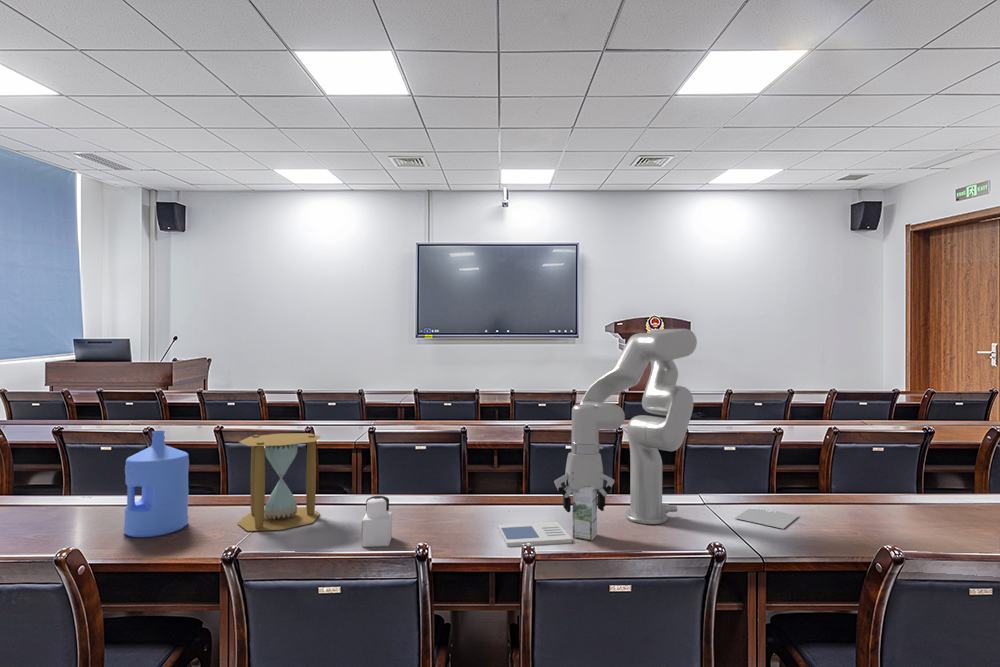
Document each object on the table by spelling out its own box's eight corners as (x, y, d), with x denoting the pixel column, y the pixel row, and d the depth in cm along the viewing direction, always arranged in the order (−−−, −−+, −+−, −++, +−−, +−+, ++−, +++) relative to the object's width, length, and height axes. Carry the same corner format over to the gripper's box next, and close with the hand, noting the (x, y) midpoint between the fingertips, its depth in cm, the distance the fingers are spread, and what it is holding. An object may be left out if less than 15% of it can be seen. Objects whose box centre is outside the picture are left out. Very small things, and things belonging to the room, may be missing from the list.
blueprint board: (557, 525, 160) (557, 521, 160) (572, 542, 146) (572, 538, 146) (497, 528, 157) (497, 525, 157) (506, 546, 143) (506, 542, 143)
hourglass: (235, 537, 149) (236, 446, 150) (238, 513, 170) (239, 434, 170) (324, 525, 159) (325, 440, 160) (317, 505, 179) (317, 429, 180)
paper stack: (833, 524, 163) (833, 522, 163) (812, 547, 145) (812, 544, 145) (752, 508, 179) (752, 506, 179) (724, 526, 161) (724, 524, 161)
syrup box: (597, 534, 153) (597, 483, 153) (592, 541, 147) (592, 488, 148) (578, 531, 155) (578, 480, 155) (571, 538, 150) (572, 485, 150)
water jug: (179, 516, 167) (181, 425, 167) (194, 529, 156) (196, 431, 156) (118, 528, 156) (120, 431, 156) (130, 543, 145) (132, 438, 145)
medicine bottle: (365, 537, 149) (366, 494, 150) (392, 537, 150) (392, 493, 150) (361, 547, 142) (361, 501, 142) (388, 546, 143) (389, 501, 143)
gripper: (609, 445, 157) (608, 505, 156) (551, 446, 154) (550, 507, 153) (619, 450, 150) (618, 513, 149) (558, 451, 146) (558, 515, 146)
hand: (584, 510), depth 151 cm, fingers open, 9 cm apart
